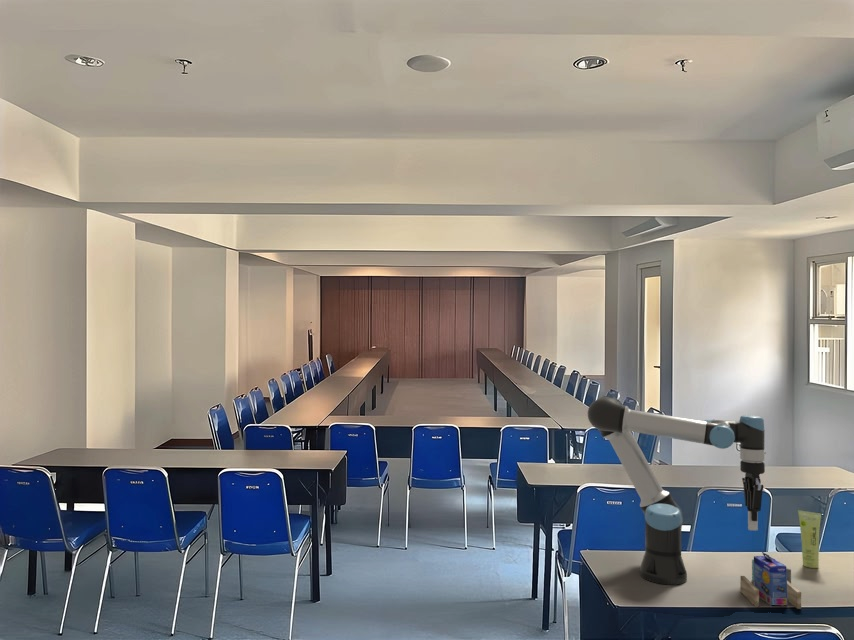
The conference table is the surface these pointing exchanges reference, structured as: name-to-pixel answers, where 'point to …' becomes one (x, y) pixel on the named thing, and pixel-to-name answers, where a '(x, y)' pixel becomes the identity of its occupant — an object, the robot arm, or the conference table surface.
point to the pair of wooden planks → (753, 592)
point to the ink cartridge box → (770, 580)
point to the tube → (810, 537)
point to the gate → (787, 572)
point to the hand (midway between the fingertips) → (752, 529)
